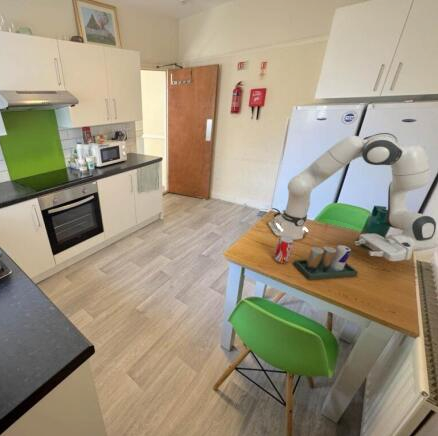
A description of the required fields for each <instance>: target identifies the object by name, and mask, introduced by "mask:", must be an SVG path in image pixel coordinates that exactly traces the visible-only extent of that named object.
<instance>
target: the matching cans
mask: <svg viewBox="0 0 438 436" xmlns="http://www.w3.org/2000/svg"><path fill="white" fill-rule="evenodd" d="M335 253H336V248H334V247H333V246H328V245H326V246H323V247H322V248H320V247H318V246H312V247H311V249H310V251H309V254H308V257H307V262H306V265H305V269H306V270H307V271H308V272H309V273H316V272H317V270H318V271H320V272H325V273H326V272H328V270H329V268H330V265H331V263H332V261H333V258H334V256H335Z"/></svg>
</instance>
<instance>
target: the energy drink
mask: <svg viewBox="0 0 438 436" xmlns="http://www.w3.org/2000/svg"><path fill="white" fill-rule="evenodd" d="M335 249H336V253H335V256H334V258H333V261H332V263H331V265H330V268H331V269H333V270H335V271H342V270H343V268H344V266H345V264H346V263H347V261H348V259H349V257H350V255H351V252H352V249H351V248H350V246H349V247H348V246H347V245H342V244H340V245H339V244H338V246H336V248H335Z"/></svg>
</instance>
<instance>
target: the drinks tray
mask: <svg viewBox="0 0 438 436" xmlns="http://www.w3.org/2000/svg"><path fill="white" fill-rule="evenodd" d="M307 259H308V258H307ZM307 259H306V258H305V259H296V260H294V261H293V266H294V267H295V268H296V269H298V271H299V272H300V273H301V274H302V275H303V276H304V277H305V278H306V279H307V280H308V281H311V280H324V279H335V278H347V277H348V278H349V277H356V276H358V273H359V271H357V270H356V269H355V268H354V267H352V265H350V264H349V263H347V262H346V264H345V266H344V268H343V270H342V271H335V270H333V269H331V268H329V270H328V272H326V273H325V272H320V271H318V270H317V272H316V273H309V272H308V271H307V270H306V269H305V265H306V262H307Z"/></svg>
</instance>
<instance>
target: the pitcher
mask: <svg viewBox="0 0 438 436" xmlns="http://www.w3.org/2000/svg"><path fill="white" fill-rule="evenodd" d="M387 211H388V206H383V205H373V208H372V211H371V214H370V215H369V216H367V217H366V220H365V223H364V225H363V227H362V229H361V232H360V234H359V235H358V238H357V241H359V237H360V235H361V234H370V233H375V234H378V235H381V236H382V237H384V238H385V237H386V236H388V233H389V231H390V229H391V227H390V226H388V225H387V223H386V220H385V218H386V214H387ZM360 246H361V247H362V248H366V249H370V248H369V247H368V246H366V245H365V244H362V243H361V244H360Z"/></svg>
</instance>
